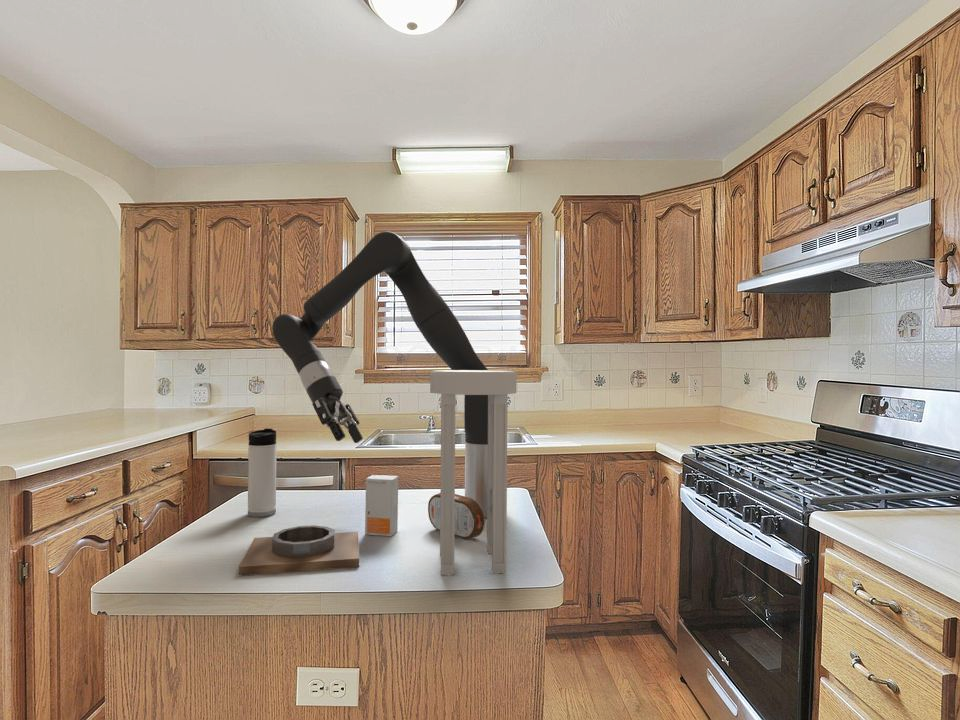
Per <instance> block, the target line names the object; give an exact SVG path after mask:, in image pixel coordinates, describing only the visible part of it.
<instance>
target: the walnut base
mask: <svg viewBox="0 0 960 720" xmlns="http://www.w3.org/2000/svg"><path fill="white" fill-rule="evenodd" d="M272 538H273V536H263V537H254V538H253V540H252V541H251V544H250V545H249V547H248V549H247V551H246V552H245V555H244V556H243V558H242V560H241V561H240V564H239V565H238V575H243V576H255V574H257V575H267V574H282V573H292V572H293V573H295V572H308V571H310V572H311V571H320V570H321V571H322V570H333V569H334V570H336V569H347V568H348V569H349V568H359V567H360V548H359V547H360V545H359V531H347V532H345V531H344V532H335V542H334V548H333V549H332V550H330V551H328V552H327V553H324V554H320V555H316V556H312V557H304V558H287V557H279V556H277V555H275V554H274V553H272ZM307 541H313V540H299V541H295V542H307Z"/></svg>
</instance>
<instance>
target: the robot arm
mask: <svg viewBox="0 0 960 720" xmlns="http://www.w3.org/2000/svg"><path fill="white" fill-rule="evenodd" d="M383 272H385V274H386V275H387V276H388V277H389V278H390V279H391V281H392V282H393V284H395V286H396V287H397V289H398V290H399V292H400V293H401V295H402V296H403V299H404V301H405V303H406V306H407V309H408V311H409V313H410V315H411V318H412V320H413V322H414V324H415V326H416V327H417V329H418V330H419V332H420V333H421V335H422V336H423V339H425V341H426V342H427V344H429V346H430V347H431V349H432V350H433V351H434V352H435V354H436V355H437V356H439V358H440V359H441V360H442V361H443V362H444V363H445V364H446V365H447V366H448V367H449V368H450V370H489V369H488V368H487V367H486V365H485V364H484V363H483V362H482V360H481V359H480V357H479V355H477V354H476V351H475V349H474V348H473V346H472V344H471V342H470V340H469V337H468V335H467V334H466V332H465V330H464V328H463V327H462V325H461V324H460V322H459V320H458V319H457V317H456V316H455V314H454V313H453V311H452V309H451V308H450V306H449V305H448V304H447V303H446V300H445V299H444V298H443V297H442V296H441V295H440V293H439V291H437V290H436V288H435V287H434V286H433V285H432V284H431V283H430V281H429V280H428V278H427V277H426V276H425V274H424V272H423V271H422V269H421V267H420V265H419V264H418V262H417V260H416V258H415V256H414V254H413V252H412V249H411V248H410V246H409V245H408V243H407V242H406V240H404V238H402V237H401V236H400V235H398V234H397V233H395V232H392V231H388V230H387V231H384V230H383V231H381V232H379V233H376V234H375V235H374V236H372V238H371V239H370V240H369V241H368V242H367V243H366V244H365V246H364V247H363V248H362V249H361V250H360V251H359V253H358V254H357V255H356V256H355V257H354V258H353V259H352V260H351V261H350V262H349V263H348V265H346V267H344V268H343V269H342V270H341V271H340V272H339V273H338V274H337V275H336V276H335V277H333V278H332V279H331V280H330V281H329V282H328V283H326V284H325V285H324V286H323V287H321V288H320V289H318V291H316V293H314V294H313V295H311V296H310V297H309V298H308V299H307V300H305V302H304V304H303V306H302V307H303V311H304V314H303V315H302V316H301V317H297V316H295V315H292V314H290V313H282V314H279V315H278V316H276V318H275V319H274V320H273V322H272V325H271V329H272V330H271V331H272V334H273V337H274V339H275V341H276V343H277V344H278V346H279V347H280V348H281V349H282V350H283V352H284V353H285V354H286V355H287V357H289V359H290V360H291V362H292V363H293V366H294V368H295V370H296V371H297V373H298V375H299V377H300V381H301V384H302V386H303V388H304V389H305V391H306V394H307V395H308V397H309V399H310V401H311V404H312V406H313V409H314V411H315V413H316V415H317V418H318V419H319V421H320V423H321V424H322V425H323V426H324V425H326V427H327V428H328V429H329V430H330V432H331V433H332V435H333V437H334V439H335V441H336V442H341V440H343V439H345V438H346V434H345V432H344V430H343V428H342V427H341V426H343V427H344V428H345V429H346V430H347V432H348V433H349V435H350V438H351V439H352V441H353V443H355V444H358V443H360V442H361V441H363V436H362V434H361V432H360V430H359V427H358V426H359V425H360V423H361V422H360V420H359V419H358V417H357V416H356V414H355V412H354V410H353V409H352V407H351V405H350V404H349V403H347V404H344V402H342V401H341V398H342V396H343V393H344V391H343V388H342V387H341V385H340V383H339V381H338V380H337V378H336V376H335V374H334V372H333V371H332V369H331V368H330V366H329V364H327V362H326V360H325V358H324V356H323V354H322V353H321V351H320V349H319V348H318V347H317V346H316V345H315V344H313V342H312V340H314V339H315V337H316V336H317V334H318V333H319V331H321V329H322V328H323V326H324V325H325V324H326V322H329V320H330V319H332V318H333V317H334V316H335V315H337V314H338V313H339V312H340V311H342V310H343V308H345V307H346V306H347V305H348V304H349V303H350V302H351V300H352V299H353V298H354V297H355V295H356V294H357V293H358V292H359V291H360V289H362V287H363V286H365V284H367V283H368V282H369V281H370V280H372V279H373V278H374V277H376V276H378V275H379V274H381V273H383ZM463 407H464V408H463V409H464V410H463V411H464V415H463V417H464V423H463V424H464V437H465V438H464V442H465V445H464V496H465V497H469V498H472V499H474V500H475V501H476V502H477V503H478V504H479V506H480V507H481V509H482V511H483V514H484V518H487V474H488V395H464V406H463Z"/></svg>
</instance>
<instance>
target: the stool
mask: <svg viewBox="0 0 960 720" xmlns="http://www.w3.org/2000/svg"><path fill="white" fill-rule="evenodd" d="M517 377H518V376H517V373H516V372H515V371H512V370H490V369H488V370H451V369H445V370H444V369H441V370H438V369H435V370H432V371H431V372H430V377H429V380H430V381H429V383H430V385H429V386H430V389H429V393H431V394H437V395H439V394H440V397H441V398H440V399H441V400H440V401H441V403H440V404H441V405H440V406H441V407H440V493H441V497H440V531H439V534H440V535H439V538H440V539H439V557H440V556H441V557H440V576H454V575H455V536H454V522H455V494H456V490H455V488H456V399H457V398H456V395H460V396H461V395H462V396H465V395H488V474H487V517H486V525H487V526H486V554H487V553H488V554H487V556H488V555H490V556H491V571H493V572H492V574H493V575H500V574H499V573H506V574H507V538H508V537H507V532H508V531H507V530H508V529H507V528H508V527H507V519H508V518H507V516H508V515H507V514H508V512H507V511H508V507H507V506H508V404H509V403H508V399H509V397H508V396H509V395H512V394H517V381H518V380H517Z"/></svg>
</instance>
